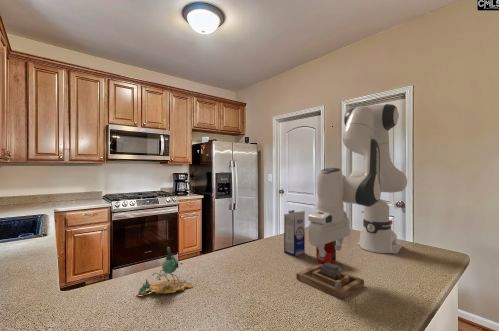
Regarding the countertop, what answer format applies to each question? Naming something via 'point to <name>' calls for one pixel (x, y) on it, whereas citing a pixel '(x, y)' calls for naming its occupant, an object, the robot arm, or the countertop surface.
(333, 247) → the canned food
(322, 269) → the grey block
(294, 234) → the milk carton
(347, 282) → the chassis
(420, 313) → the countertop surface
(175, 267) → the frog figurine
